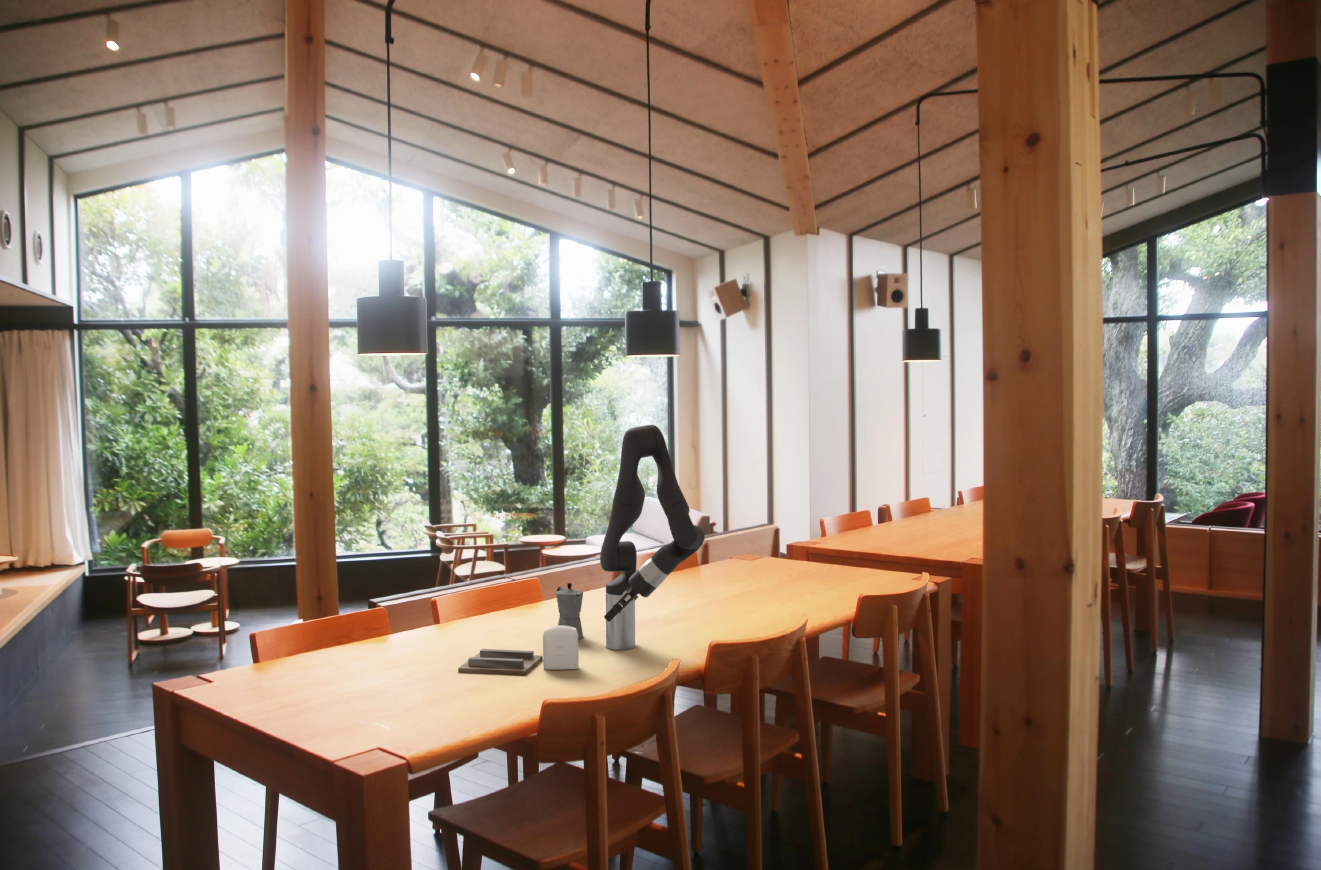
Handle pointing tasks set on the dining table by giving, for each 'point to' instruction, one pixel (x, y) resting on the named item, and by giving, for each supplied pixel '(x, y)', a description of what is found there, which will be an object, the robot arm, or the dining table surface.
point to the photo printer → (560, 648)
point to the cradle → (501, 662)
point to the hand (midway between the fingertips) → (609, 615)
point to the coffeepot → (570, 607)
